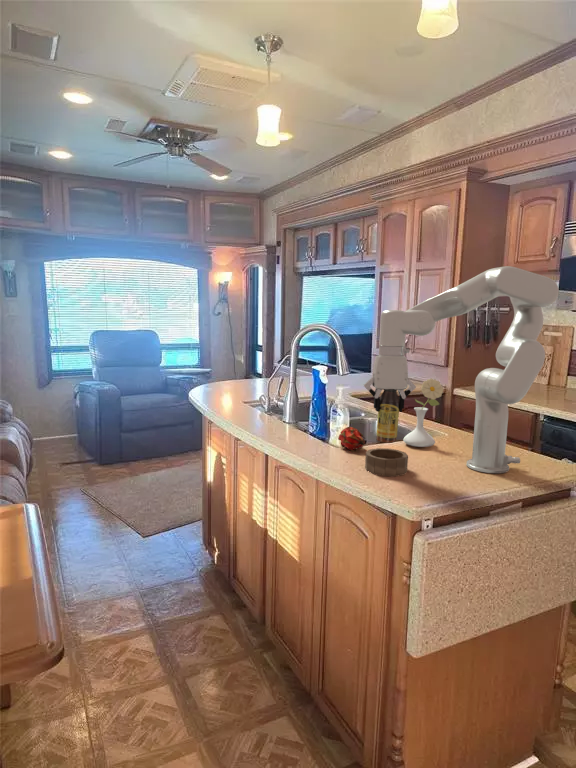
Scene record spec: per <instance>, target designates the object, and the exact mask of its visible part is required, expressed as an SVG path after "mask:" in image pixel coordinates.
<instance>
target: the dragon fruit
mask: <svg viewBox="0 0 576 768" xmlns="http://www.w3.org/2000/svg"><path fill="white" fill-rule="evenodd" d="M337 439H338V441H340V446H341V448H346V449H347V450H349V451H350V452H357V451H356V448H357V449H362V448H363V447H364V445H366V444H367V441H368V440H365V439H366V437H365V436H364V434H363V433H362V432H361V431H359V429H357V428H356V427H353V426H347V427H345V428H343V429H342V430H341V431H340V434H339V435H338V437H337Z"/></svg>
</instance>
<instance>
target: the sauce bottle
mask: <svg viewBox="0 0 576 768" xmlns="http://www.w3.org/2000/svg"><path fill="white" fill-rule="evenodd" d="M379 399H380V411H379V412H377V424H376V441H378V442H381V443H384V444H385V443H386V444H387V443H388V444H390V443H391V444H392V443H395V442H396V441H397V438H398V428H399V414H400V412H399V402H400V399H399V394H398V390H395V389H388V390H382V392H381V394H380V395H379Z"/></svg>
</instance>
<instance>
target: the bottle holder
mask: <svg viewBox="0 0 576 768" xmlns="http://www.w3.org/2000/svg"><path fill="white" fill-rule="evenodd" d="M364 458H365V461H364V462H365V464H364V469H365V470H366V471H367V472H368V471H369V473H370V472H371V474H372V475H376V474H377V475H378V476H382V475H383V477H398V475H399V476H404V475H405V474H406V473H407V472H408V463H409V462H408V461H409V455H408V454H407V453H406V452H404V451H402V450H400V449H394V448H384V447H383V448H381V447H380V448H378V447H377V448H372V449H371V448H369V449H368V450H366V451H365V457H364Z"/></svg>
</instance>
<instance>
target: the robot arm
mask: <svg viewBox="0 0 576 768" xmlns="http://www.w3.org/2000/svg"><path fill="white" fill-rule="evenodd" d="M559 293H560V291H559V286H558V284H557V282H556V281H555V280H554V279H552V278H550V277H548V276H545V275H543V274H542V275H541V274H539V273H535V272H532V271H529V270H526V269H522V268H519V267H515V266H510V265H507V266H506V265H505V266H500V267H494V268H490V269H487V270H485V271H483V272H481V273H479V274H477V275H476V276H474V277H472V278H470V279H468V280H466V281H464V282H462V283H461V284H459V285H456V286H454V287H452V288H450V289H448V290H446V291H444V292H442V293H439V294H438V295H435V296H433V297H431V298H428V299H426V300H424V301H422V302H420V303H418V304H416V305H414V306H413V307H410V308H409V309H406V311H404V310H400V309H399V310H398V309H387V310H383V311H382V312H381V313H380V322H379V323H380V325H379V326H380V327H379V340H378V341H379V344H378V345H379V346H378V355H376V356H375V359H374V362H373V369H372V370H373V371H372V377H371V378H370V379H368V381H366V382H365V383H364V384H363V387H364V388H365V390H367V391H368V392H369V394H370V395H371V396H373V409H375V411H376V412H377V413H378V412H379V411H380V396H381V394H382V392H383V391H384V390H388V389H395V390H397V393H398V397H399V399H400V402H399V413H402V412H403V410H404V409H405V399H406V398H407V397H408V396H409V395H410V394H411V393H412V392H413V391H414V390H415V389H416V388H417V386H416V385H415V384H414V383H413V382H412V380H411V379H410V378H409V369H408V360H407V359H408V358H407V356H405V355H406V354H407V353H408V354H409V353H410V348H407V347H406V335H413V336H419V337H422V336H423V337H425V336H427V335H429V334H431V333H432V332H433V331H434V329H435V327H436V323H437V322H439V321H441V320H444V319H448V318H453V317H459V316H463V315H464V314H468V313H470V312H471V311H473V310H475V309H477V308H479V307H480V306H483V305H484V304H487V303H488V302H490V301H493V300H495V299H496V298H498V297H509V299H510V304H511V305H512V308H513V313H514V315H513V320H512V322H511V324H510V327H509V328H508V330H507V332H506V333H505V335H504V336H503V339H502V340H501V342H500V343H499V345H498V347H497V350H496V352H495V359H496V362H497V363H498V364H500V365H501V366H503V367H505V368H504V369H502V368H497V367H490V368H488V367H487V368H485V369H483V370H481V371H480V372H479V373H478V374H477V376H476V377H475V381H474V395H475V415H474V416H475V417H474V425H473V427H474V428H473V429H474V430H473V438H472V439H473V442H472V454H471V458H470V459H468V460H466V463H465V464H466V466H467V468H469V469H471V470H474V471H476V472H481V473H488V474H505V473H508V472H509V471H510V466H509V465H510V464H520V463H521V457H518V456H515V457H513V456H512V455H507V454H506V447H507V433H508V422H509V406H508V405H513V404H516V403H519V402H520V401H522V400H523V399H524V398H525V396H526V395H527V393H528V391H529V390H530V389H531V386H533V383H534V381H535V379H536V378H537V376H539V375H538V374H540V371H541V370H542V367H543V365H544V363H545V360H546V359H545V358H546V351H545V347H544V346H543V344H542V343H540V341H538V337H539V336H540V334H541V332H542V329H543V325H544V314H543V310H542V308H546V307H549V306H550V305H552V304H554V303H555V302H556V300H557V299H558V297H559ZM371 386H372V387H374V389H373V388H372V387H371Z"/></svg>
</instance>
